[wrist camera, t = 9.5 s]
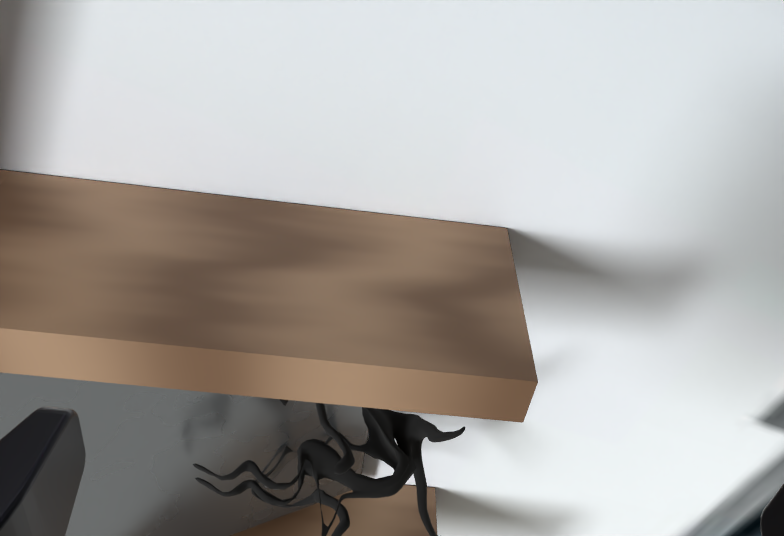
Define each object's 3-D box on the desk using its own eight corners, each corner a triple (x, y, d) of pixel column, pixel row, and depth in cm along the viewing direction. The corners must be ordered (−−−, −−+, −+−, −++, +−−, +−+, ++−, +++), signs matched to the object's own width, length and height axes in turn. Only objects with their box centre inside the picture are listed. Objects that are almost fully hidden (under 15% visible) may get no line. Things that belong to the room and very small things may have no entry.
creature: (201, 495, 27) (407, 457, 29) (212, 641, 23) (450, 586, 25) (178, 346, 22) (428, 313, 24) (187, 501, 18) (486, 446, 20)
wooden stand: (507, 228, 23) (537, 382, 18) (429, 508, 32) (434, 663, 27) (-41, 165, 22) (-179, 310, 16) (41, 474, 31) (-31, 630, 26)
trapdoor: (382, 265, 24) (394, 280, 23) (350, 472, 30) (358, 487, 30) (-37, 359, 18) (-34, 381, 18) (36, 585, 25) (39, 606, 25)
